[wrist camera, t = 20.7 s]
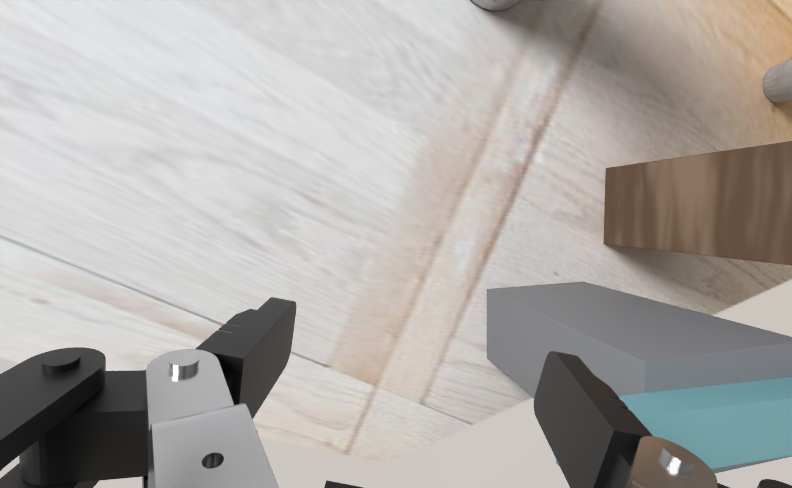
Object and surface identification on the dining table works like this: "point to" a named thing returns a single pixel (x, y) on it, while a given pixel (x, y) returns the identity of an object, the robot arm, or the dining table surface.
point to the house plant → (779, 82)
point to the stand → (706, 204)
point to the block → (722, 420)
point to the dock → (627, 341)
